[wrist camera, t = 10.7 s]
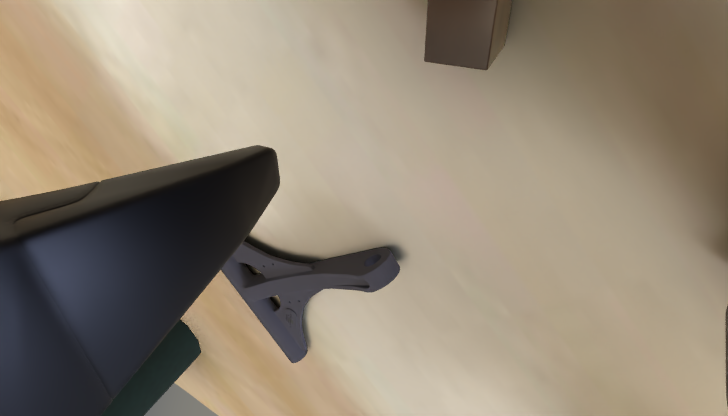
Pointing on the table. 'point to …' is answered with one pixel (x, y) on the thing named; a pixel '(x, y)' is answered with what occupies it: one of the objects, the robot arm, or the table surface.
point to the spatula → (466, 31)
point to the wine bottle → (156, 373)
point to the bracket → (301, 286)
